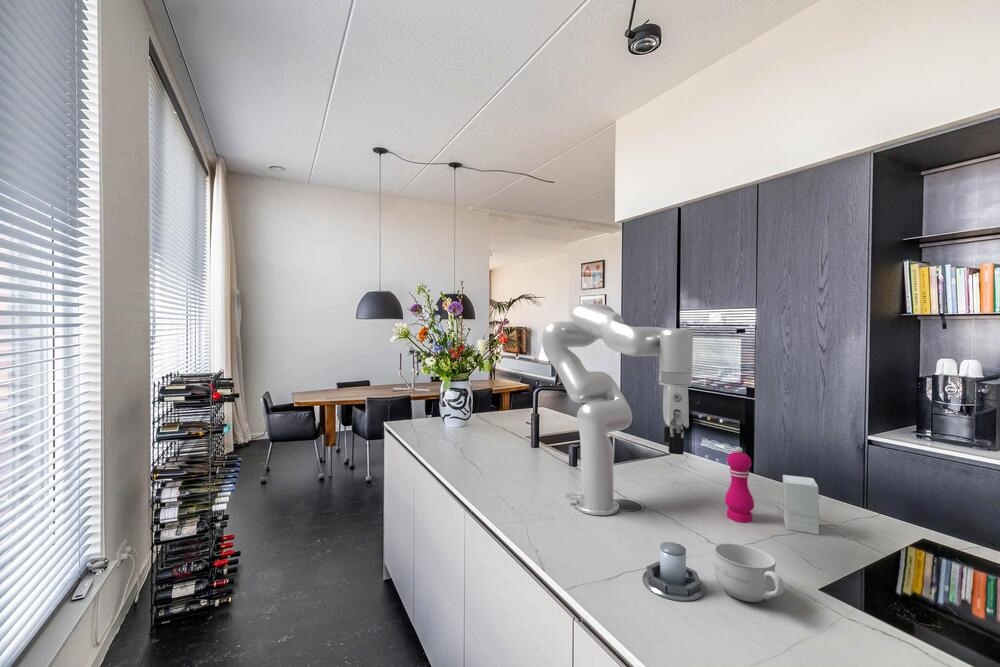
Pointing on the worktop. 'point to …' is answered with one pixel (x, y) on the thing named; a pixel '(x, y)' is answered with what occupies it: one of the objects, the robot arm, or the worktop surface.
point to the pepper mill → (739, 488)
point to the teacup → (746, 572)
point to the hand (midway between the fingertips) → (673, 447)
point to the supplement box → (800, 504)
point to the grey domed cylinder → (673, 563)
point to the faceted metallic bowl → (674, 592)
